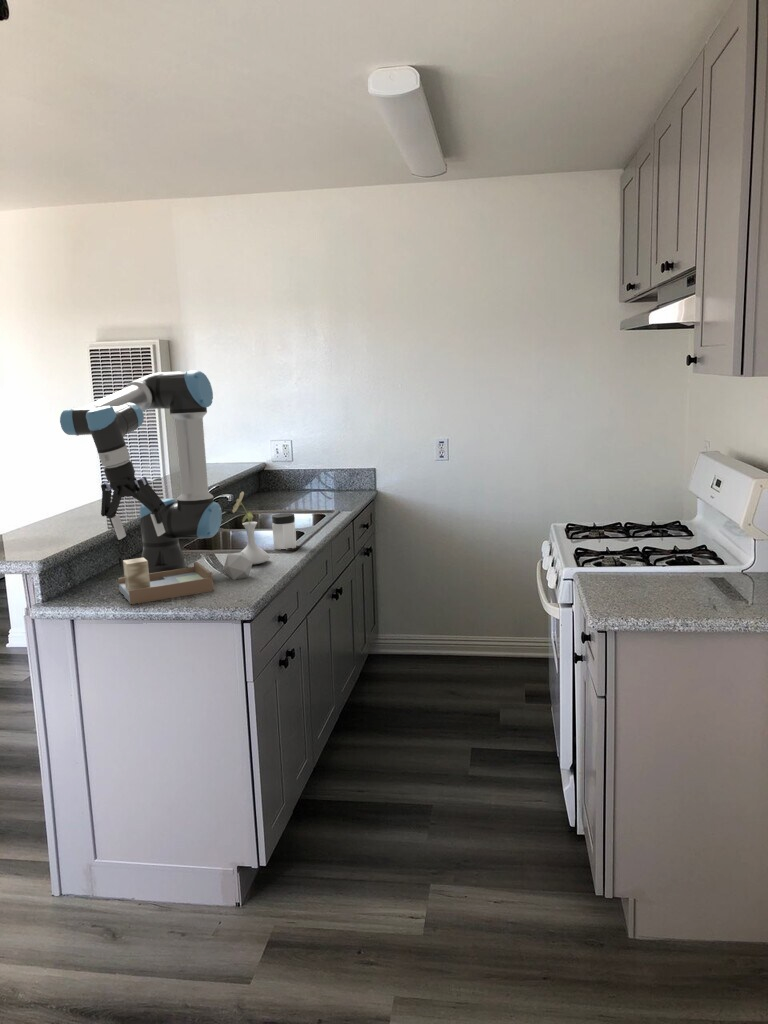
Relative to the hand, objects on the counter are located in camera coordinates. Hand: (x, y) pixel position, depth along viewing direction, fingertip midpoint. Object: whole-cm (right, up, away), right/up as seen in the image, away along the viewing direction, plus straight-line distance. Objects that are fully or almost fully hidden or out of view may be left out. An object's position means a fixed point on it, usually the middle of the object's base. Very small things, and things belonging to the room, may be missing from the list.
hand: (141, 536), depth 228 cm
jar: (+31, -6, +72) cm, 79 cm away
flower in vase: (+23, -11, +48) cm, 55 cm away
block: (-5, -15, +14) cm, 22 cm away
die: (+22, -14, +30) cm, 40 cm away
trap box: (+2, -17, +18) cm, 25 cm away
